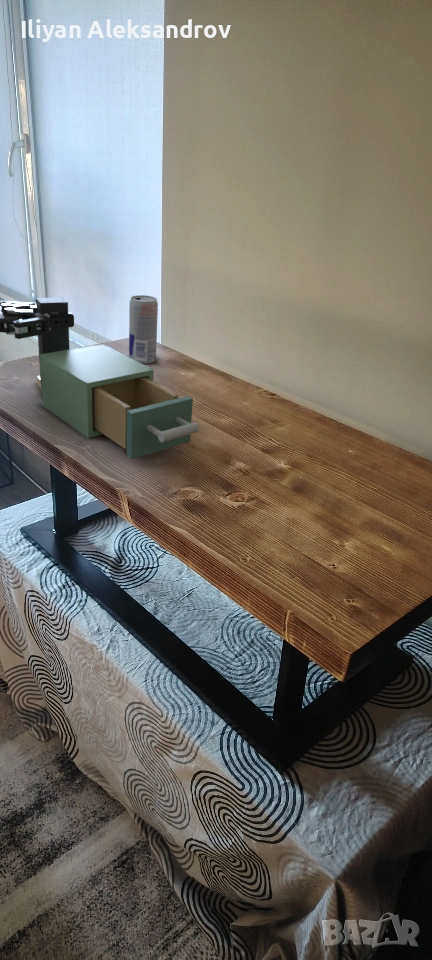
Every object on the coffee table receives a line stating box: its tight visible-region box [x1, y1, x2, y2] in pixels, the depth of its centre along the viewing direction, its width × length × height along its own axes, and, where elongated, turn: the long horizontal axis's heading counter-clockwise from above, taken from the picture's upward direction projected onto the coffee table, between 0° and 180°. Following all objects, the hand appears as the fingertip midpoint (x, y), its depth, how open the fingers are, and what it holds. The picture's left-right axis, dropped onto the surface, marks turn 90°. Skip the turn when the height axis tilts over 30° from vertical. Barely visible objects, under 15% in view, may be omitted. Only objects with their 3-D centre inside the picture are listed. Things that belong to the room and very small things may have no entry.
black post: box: [35, 296, 70, 390], centre depth 104 cm, size 5×5×15 cm
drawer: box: [92, 377, 200, 460], centre depth 90 cm, size 17×10×7 cm, turn 41°
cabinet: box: [38, 343, 155, 439], centre depth 98 cm, size 14×12×9 cm
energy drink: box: [128, 294, 159, 365], centre depth 121 cm, size 5×5×12 cm
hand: (69, 316), depth 103 cm, fingers closed on black post, 3 cm apart
